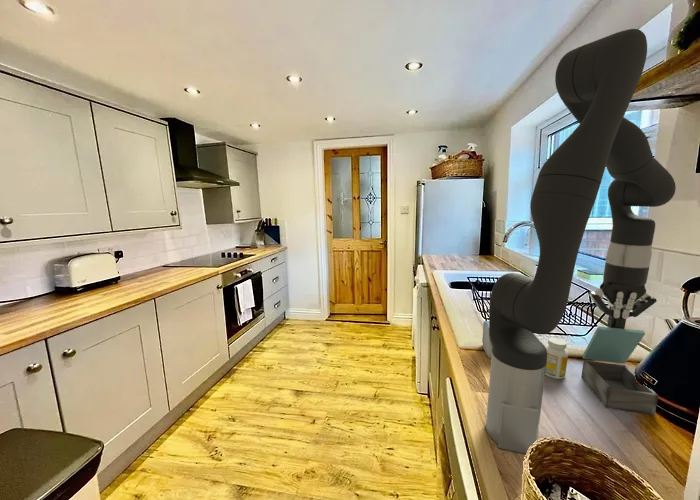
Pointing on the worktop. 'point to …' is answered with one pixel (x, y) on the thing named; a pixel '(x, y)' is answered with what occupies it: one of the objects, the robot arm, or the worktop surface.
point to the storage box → (618, 388)
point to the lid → (612, 344)
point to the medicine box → (487, 339)
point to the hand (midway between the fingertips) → (615, 330)
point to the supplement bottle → (556, 358)
